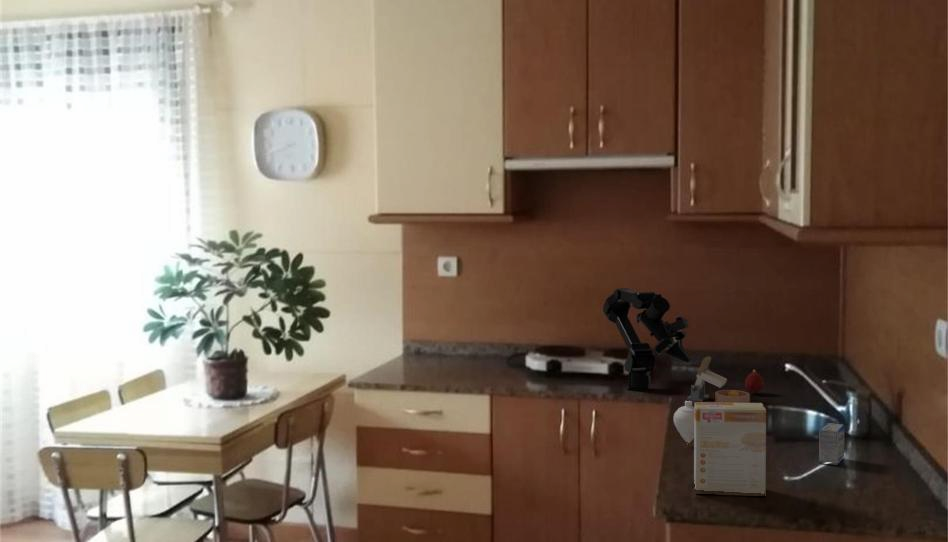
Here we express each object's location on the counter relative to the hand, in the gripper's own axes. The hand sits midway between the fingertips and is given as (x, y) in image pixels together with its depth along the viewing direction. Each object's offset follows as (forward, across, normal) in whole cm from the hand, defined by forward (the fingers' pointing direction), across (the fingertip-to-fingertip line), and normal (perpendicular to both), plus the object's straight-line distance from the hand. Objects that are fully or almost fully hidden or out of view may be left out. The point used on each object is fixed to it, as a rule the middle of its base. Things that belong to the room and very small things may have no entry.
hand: (688, 361), depth 300 cm
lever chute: (+11, 0, +3) cm, 11 cm away
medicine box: (+44, -54, -28) cm, 76 cm away
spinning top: (+20, -57, -3) cm, 60 cm away
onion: (+21, +15, -4) cm, 26 cm away
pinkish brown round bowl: (+18, -1, -2) cm, 18 cm away
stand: (+11, 0, +6) cm, 12 cm away
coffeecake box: (+33, -89, -16) cm, 96 cm away
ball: (+17, -1, -3) cm, 17 cm away
